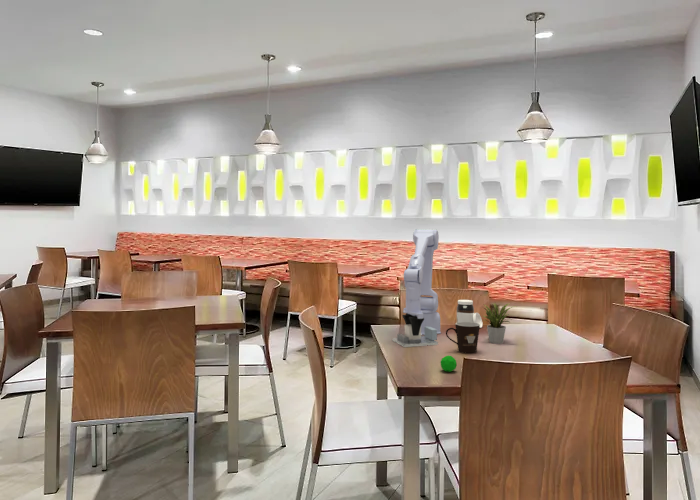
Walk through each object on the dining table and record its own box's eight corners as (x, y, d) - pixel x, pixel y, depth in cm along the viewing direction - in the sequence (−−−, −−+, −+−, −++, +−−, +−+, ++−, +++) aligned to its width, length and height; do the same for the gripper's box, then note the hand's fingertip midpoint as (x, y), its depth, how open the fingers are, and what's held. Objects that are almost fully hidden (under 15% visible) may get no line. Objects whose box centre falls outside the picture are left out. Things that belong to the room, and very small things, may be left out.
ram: (429, 336, 207) (429, 326, 207) (436, 339, 201) (436, 329, 201) (424, 336, 207) (424, 326, 207) (432, 340, 200) (432, 330, 200)
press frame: (424, 338, 210) (424, 331, 210) (438, 344, 198) (438, 337, 198) (392, 340, 206) (392, 333, 206) (404, 347, 194) (404, 339, 194)
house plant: (520, 340, 206) (521, 299, 205) (516, 347, 193) (516, 304, 193) (484, 337, 212) (484, 297, 211) (477, 344, 199) (478, 301, 199)
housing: (416, 336, 204) (416, 323, 204) (420, 338, 200) (421, 325, 200) (404, 337, 203) (404, 323, 203) (408, 339, 199) (409, 325, 199)
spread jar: (455, 323, 241) (456, 299, 241) (480, 324, 240) (480, 299, 239) (457, 328, 229) (457, 302, 229) (483, 329, 228) (484, 303, 227)
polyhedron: (439, 372, 160) (439, 357, 160) (441, 368, 165) (442, 353, 165) (455, 374, 159) (455, 358, 158) (457, 370, 163) (457, 355, 163)
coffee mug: (480, 349, 190) (480, 322, 190) (478, 355, 182) (478, 327, 182) (448, 347, 194) (448, 320, 193) (445, 352, 186) (445, 325, 185)
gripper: (396, 297, 207) (396, 331, 207) (411, 302, 193) (410, 338, 193) (412, 296, 209) (412, 330, 209) (428, 301, 195) (428, 337, 196)
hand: (413, 334), depth 202 cm, fingers closed on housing, 4 cm apart
